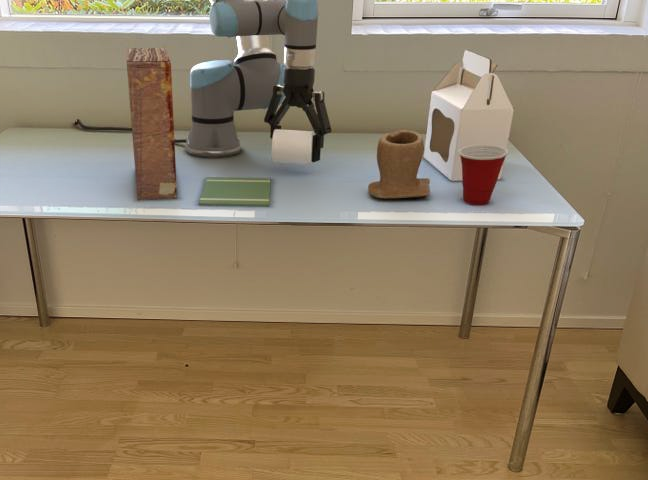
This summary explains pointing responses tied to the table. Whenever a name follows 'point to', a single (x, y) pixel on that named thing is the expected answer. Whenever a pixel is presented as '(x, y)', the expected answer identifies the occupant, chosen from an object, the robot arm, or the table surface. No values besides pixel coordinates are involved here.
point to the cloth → (236, 191)
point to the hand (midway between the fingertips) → (295, 156)
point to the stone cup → (400, 166)
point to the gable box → (466, 114)
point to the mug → (292, 146)
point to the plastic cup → (480, 171)
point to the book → (152, 122)
